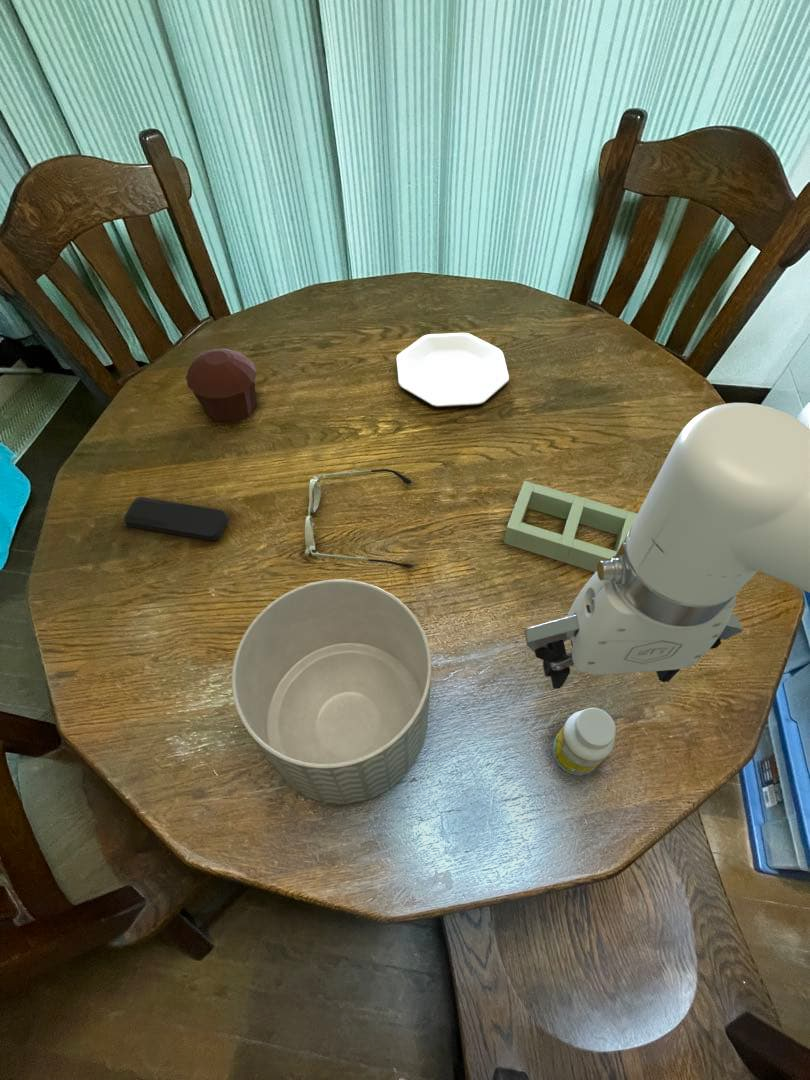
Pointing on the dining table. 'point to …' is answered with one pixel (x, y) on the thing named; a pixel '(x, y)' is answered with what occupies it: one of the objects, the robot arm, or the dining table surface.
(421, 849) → the dining table surface
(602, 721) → the supplement bottle
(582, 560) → the socket block
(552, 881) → the dining table surface
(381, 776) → the planter
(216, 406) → the muffin
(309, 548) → the eyeglasses
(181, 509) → the remote control
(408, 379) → the plate
